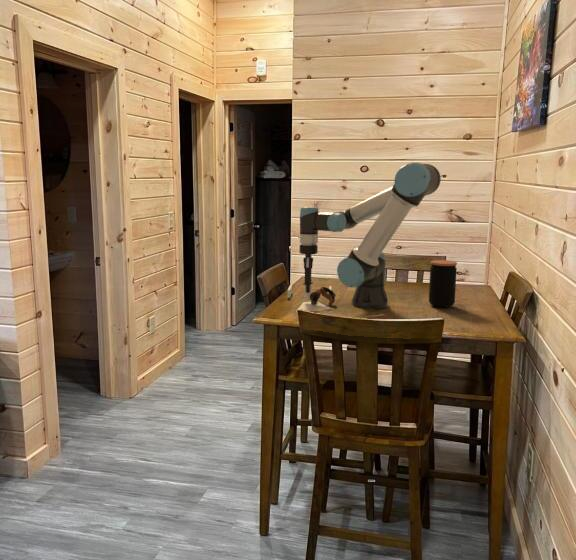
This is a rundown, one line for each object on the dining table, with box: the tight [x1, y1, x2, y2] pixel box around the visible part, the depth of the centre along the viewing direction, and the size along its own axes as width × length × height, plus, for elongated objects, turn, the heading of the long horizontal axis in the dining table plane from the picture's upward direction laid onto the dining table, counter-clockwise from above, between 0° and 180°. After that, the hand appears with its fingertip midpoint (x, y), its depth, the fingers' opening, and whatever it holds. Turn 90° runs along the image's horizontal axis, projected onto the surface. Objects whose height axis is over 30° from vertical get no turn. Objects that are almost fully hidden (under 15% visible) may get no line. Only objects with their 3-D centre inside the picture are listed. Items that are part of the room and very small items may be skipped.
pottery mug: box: [309, 286, 336, 307], centre depth 228 cm, size 12×9×8 cm
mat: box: [296, 301, 334, 313], centre depth 225 cm, size 16×16×1 cm
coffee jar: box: [428, 259, 458, 308], centre depth 229 cm, size 11×11×18 cm
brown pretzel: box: [287, 284, 332, 299], centre depth 245 cm, size 12×19×4 cm, turn 85°
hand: (307, 299), depth 231 cm, fingers closed
